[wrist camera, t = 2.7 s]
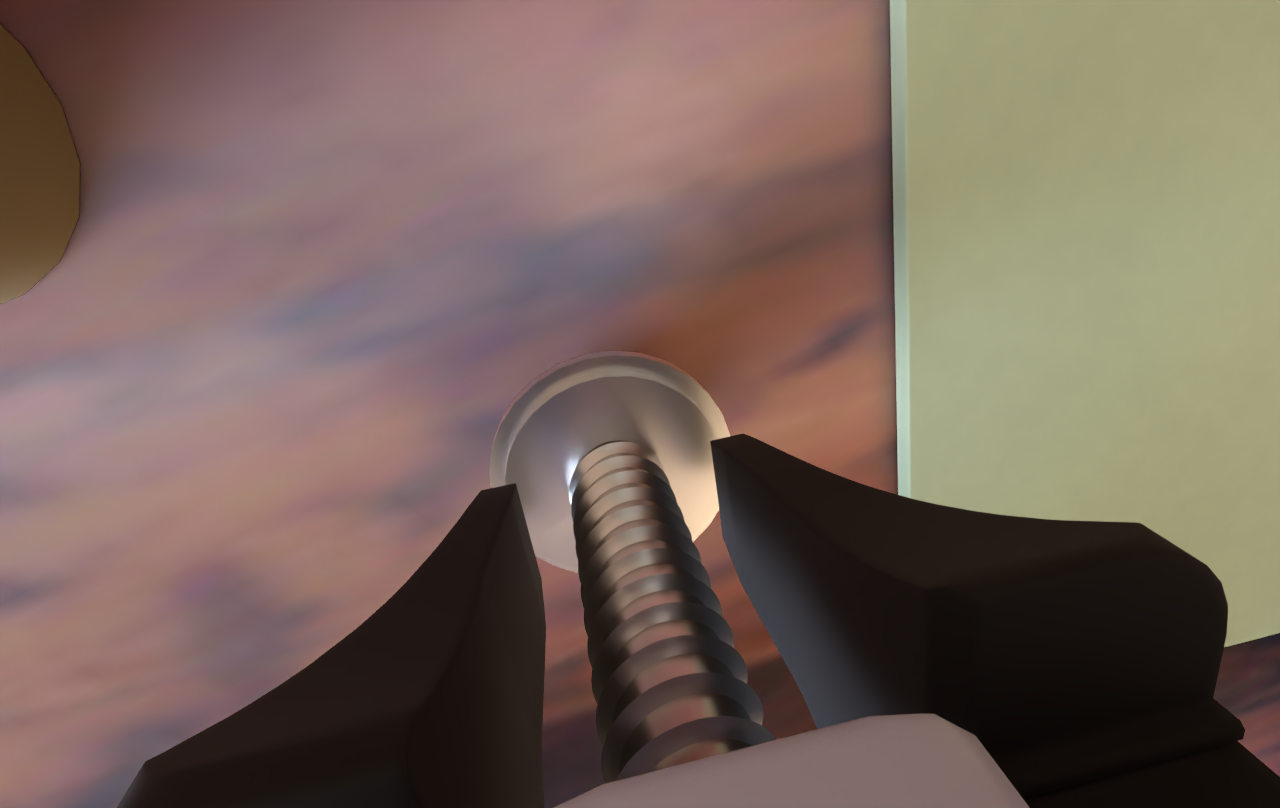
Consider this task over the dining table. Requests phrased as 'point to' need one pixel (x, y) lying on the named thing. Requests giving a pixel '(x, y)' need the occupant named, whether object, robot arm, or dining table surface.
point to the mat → (1094, 270)
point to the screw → (634, 550)
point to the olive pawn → (32, 173)
